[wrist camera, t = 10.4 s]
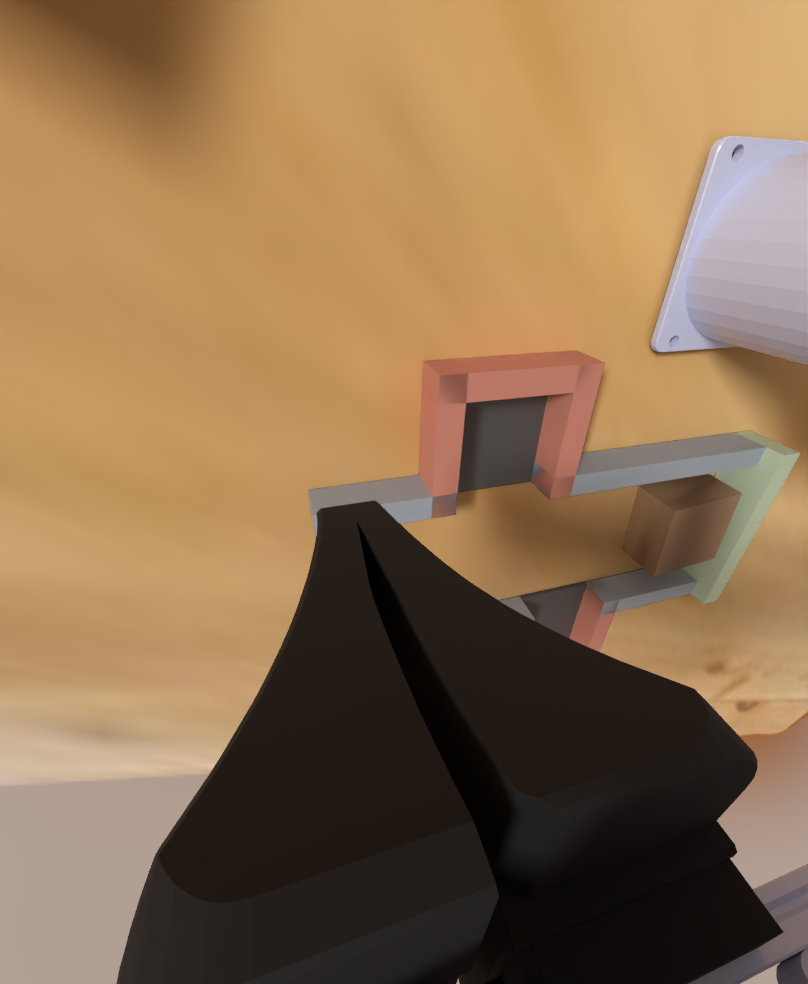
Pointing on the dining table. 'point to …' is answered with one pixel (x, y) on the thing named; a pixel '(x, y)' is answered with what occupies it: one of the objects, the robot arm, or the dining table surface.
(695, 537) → the walnut block
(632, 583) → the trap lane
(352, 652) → the robot arm
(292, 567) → the dining table surface
